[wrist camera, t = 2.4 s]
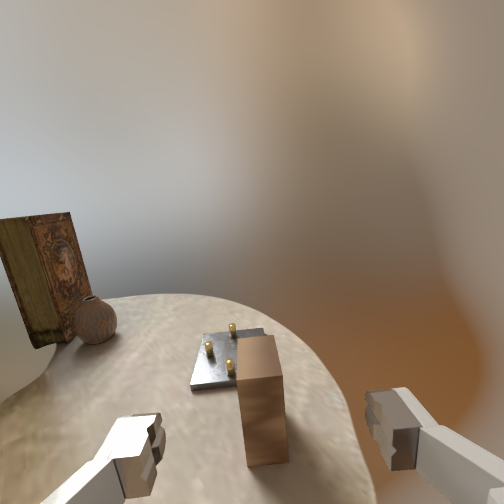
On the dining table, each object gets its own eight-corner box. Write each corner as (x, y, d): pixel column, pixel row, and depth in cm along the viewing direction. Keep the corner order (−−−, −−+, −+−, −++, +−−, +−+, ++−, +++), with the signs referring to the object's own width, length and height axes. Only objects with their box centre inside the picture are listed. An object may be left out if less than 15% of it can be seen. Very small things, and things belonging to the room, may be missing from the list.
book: (75, 312, 60) (45, 214, 54) (98, 308, 61) (72, 211, 55) (34, 352, 45) (-14, 220, 39) (67, 345, 46) (26, 216, 40)
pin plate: (191, 390, 32) (187, 372, 32) (204, 338, 44) (202, 324, 43) (271, 382, 32) (269, 363, 32) (263, 332, 44) (262, 318, 43)
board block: (247, 467, 23) (236, 380, 20) (246, 411, 28) (237, 338, 26) (288, 462, 23) (282, 375, 20) (279, 407, 29) (273, 334, 26)
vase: (103, 349, 44) (91, 306, 41) (71, 349, 45) (57, 306, 43) (127, 328, 50) (118, 290, 48) (99, 328, 51) (88, 291, 49)
